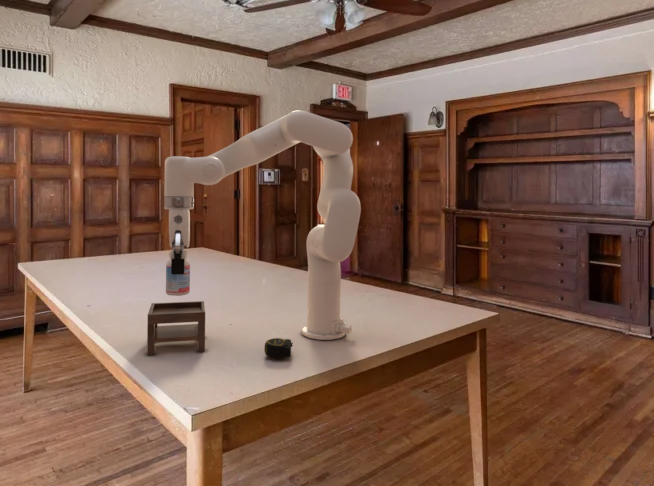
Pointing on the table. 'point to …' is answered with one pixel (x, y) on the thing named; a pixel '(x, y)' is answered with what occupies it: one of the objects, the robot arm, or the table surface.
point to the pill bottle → (178, 278)
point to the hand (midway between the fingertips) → (178, 271)
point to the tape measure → (278, 348)
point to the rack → (176, 314)
